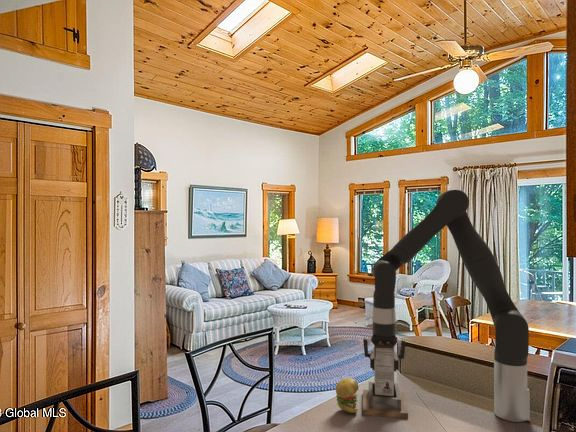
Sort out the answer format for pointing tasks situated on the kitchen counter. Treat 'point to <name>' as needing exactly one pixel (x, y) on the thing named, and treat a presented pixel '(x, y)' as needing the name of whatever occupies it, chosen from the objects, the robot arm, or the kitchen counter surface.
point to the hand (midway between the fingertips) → (384, 369)
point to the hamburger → (347, 394)
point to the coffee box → (384, 369)
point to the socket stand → (384, 403)
